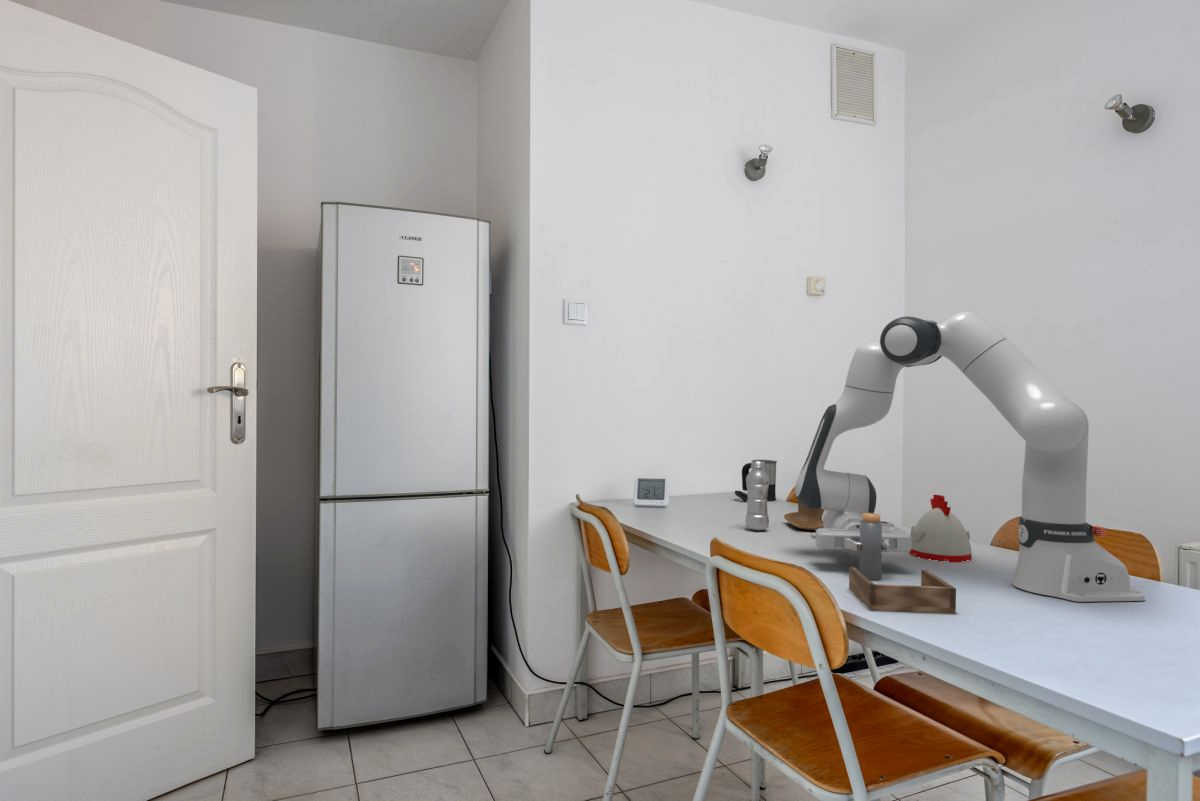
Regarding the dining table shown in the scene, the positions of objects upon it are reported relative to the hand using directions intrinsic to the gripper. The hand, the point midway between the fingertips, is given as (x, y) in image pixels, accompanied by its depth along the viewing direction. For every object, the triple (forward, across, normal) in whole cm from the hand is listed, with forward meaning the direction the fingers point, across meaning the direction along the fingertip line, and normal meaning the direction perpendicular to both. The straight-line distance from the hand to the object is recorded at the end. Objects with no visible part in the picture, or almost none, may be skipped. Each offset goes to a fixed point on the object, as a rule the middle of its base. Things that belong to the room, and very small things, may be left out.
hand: (872, 547), depth 150 cm
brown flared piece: (-59, -1, +7) cm, 59 cm away
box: (+16, 0, +7) cm, 17 cm away
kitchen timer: (-26, +24, +7) cm, 36 cm away
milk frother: (-114, -9, +7) cm, 114 cm away
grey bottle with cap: (-1, 0, +7) cm, 7 cm away
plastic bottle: (-52, -17, +7) cm, 55 cm away
